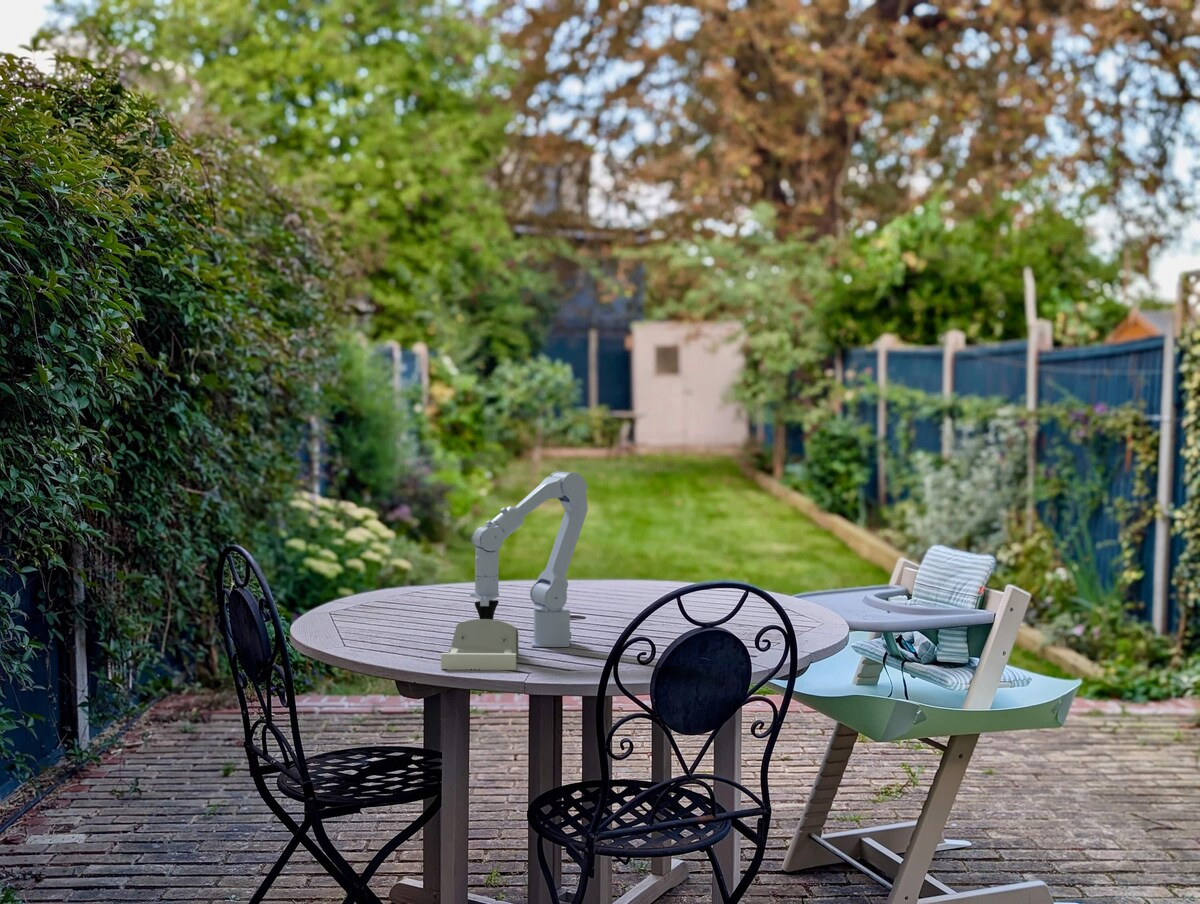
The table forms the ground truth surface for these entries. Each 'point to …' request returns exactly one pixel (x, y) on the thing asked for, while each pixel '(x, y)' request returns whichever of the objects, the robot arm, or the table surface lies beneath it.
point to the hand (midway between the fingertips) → (486, 630)
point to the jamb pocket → (478, 660)
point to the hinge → (485, 637)
